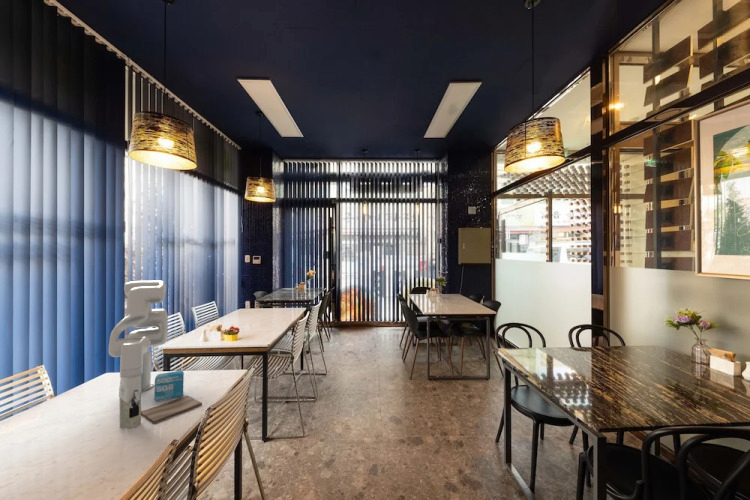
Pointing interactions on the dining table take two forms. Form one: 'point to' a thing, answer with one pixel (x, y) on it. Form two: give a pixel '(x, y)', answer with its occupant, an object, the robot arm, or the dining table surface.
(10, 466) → the dining table surface
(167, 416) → the serving board
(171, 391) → the data package
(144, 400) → the dining table surface
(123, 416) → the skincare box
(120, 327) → the robot arm
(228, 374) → the dining table surface
